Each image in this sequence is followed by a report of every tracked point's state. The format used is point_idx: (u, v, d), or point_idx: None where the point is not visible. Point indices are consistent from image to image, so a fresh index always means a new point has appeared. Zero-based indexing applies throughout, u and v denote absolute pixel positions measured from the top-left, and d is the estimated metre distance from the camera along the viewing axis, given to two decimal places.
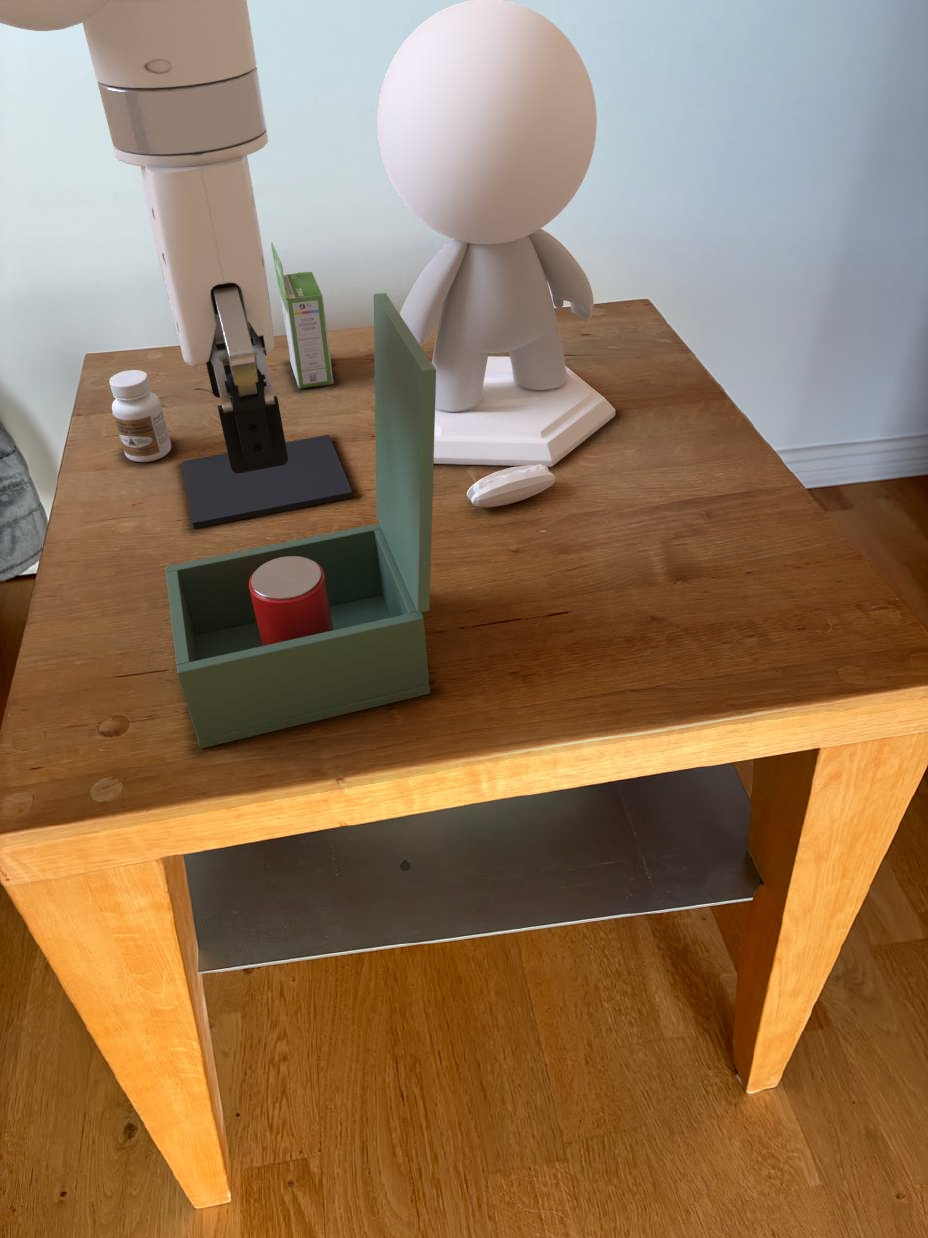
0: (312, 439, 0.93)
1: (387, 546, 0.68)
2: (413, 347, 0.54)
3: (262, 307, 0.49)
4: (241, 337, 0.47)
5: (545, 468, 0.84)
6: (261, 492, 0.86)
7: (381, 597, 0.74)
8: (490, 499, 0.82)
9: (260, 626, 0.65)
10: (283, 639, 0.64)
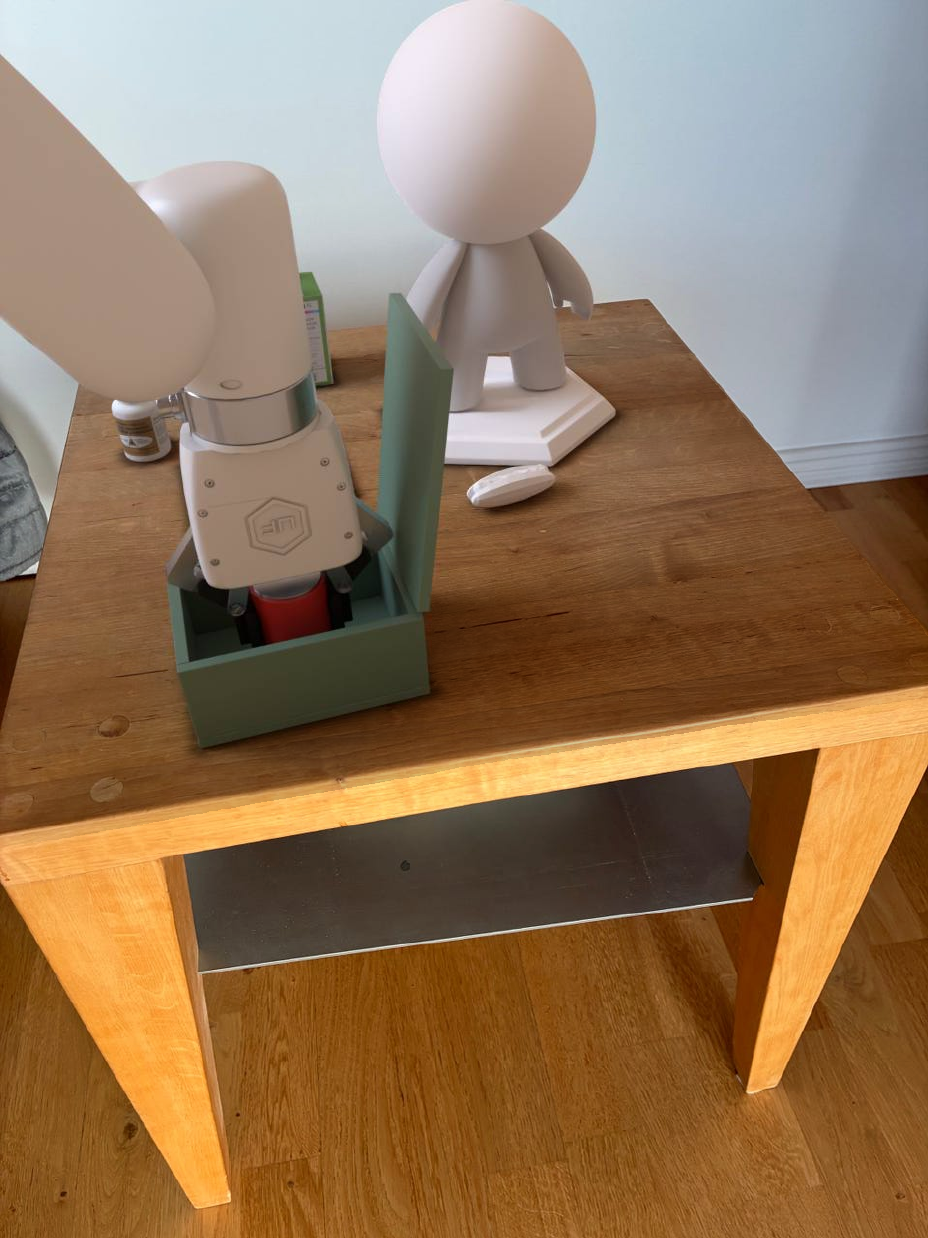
0: None
1: (387, 546, 0.68)
2: (430, 346, 0.54)
3: None
4: (380, 518, 0.64)
5: (545, 468, 0.84)
6: None
7: (381, 597, 0.74)
8: (490, 499, 0.82)
9: (260, 626, 0.65)
10: (283, 639, 0.64)
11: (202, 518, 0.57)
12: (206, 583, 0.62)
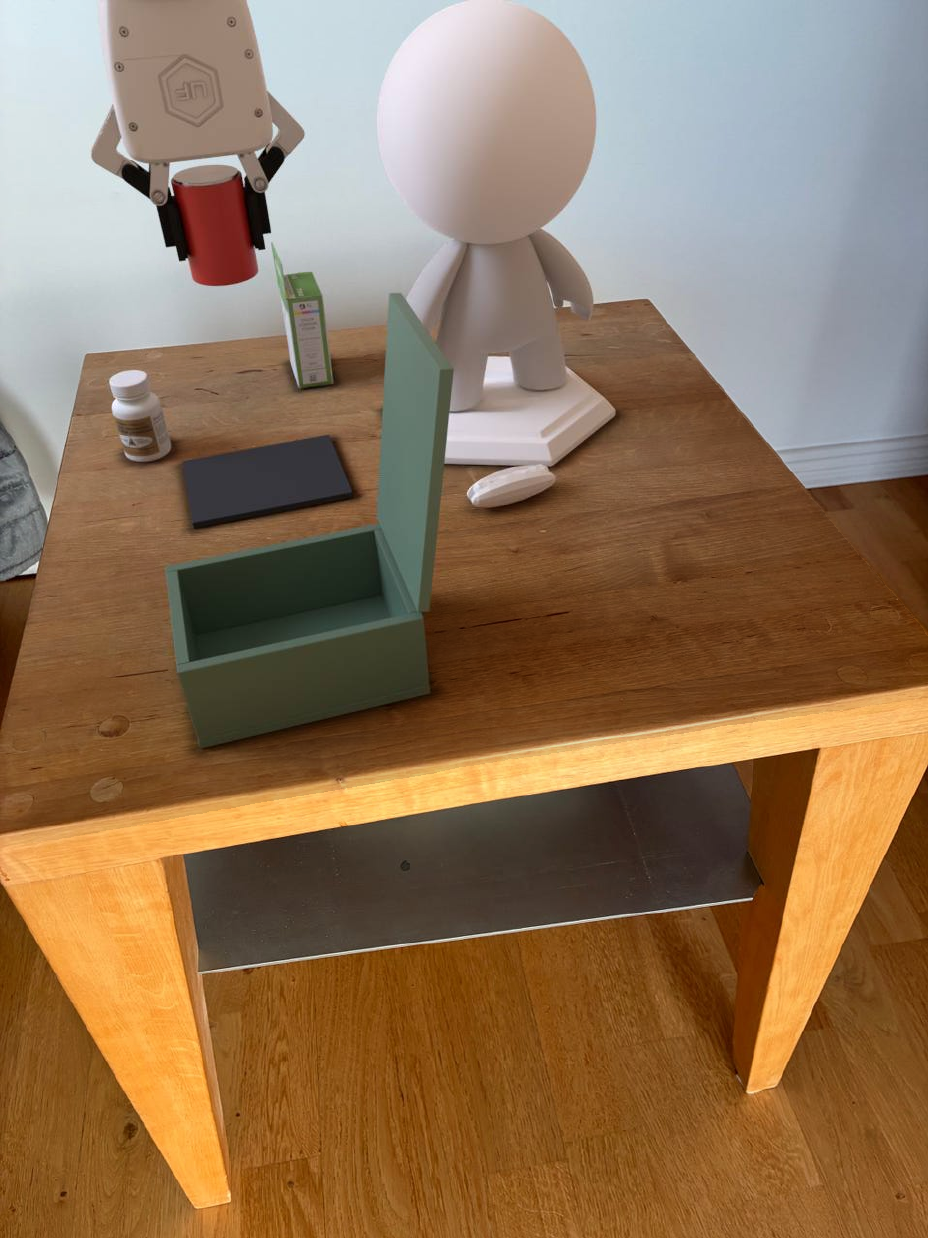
0: (312, 439, 0.93)
1: (387, 546, 0.68)
2: (430, 346, 0.54)
3: None
4: (292, 117, 0.69)
5: (545, 468, 0.84)
6: (261, 492, 0.86)
7: (381, 597, 0.74)
8: (490, 499, 0.82)
9: (182, 224, 0.70)
10: (203, 233, 0.70)
11: (119, 73, 0.62)
12: (129, 165, 0.67)
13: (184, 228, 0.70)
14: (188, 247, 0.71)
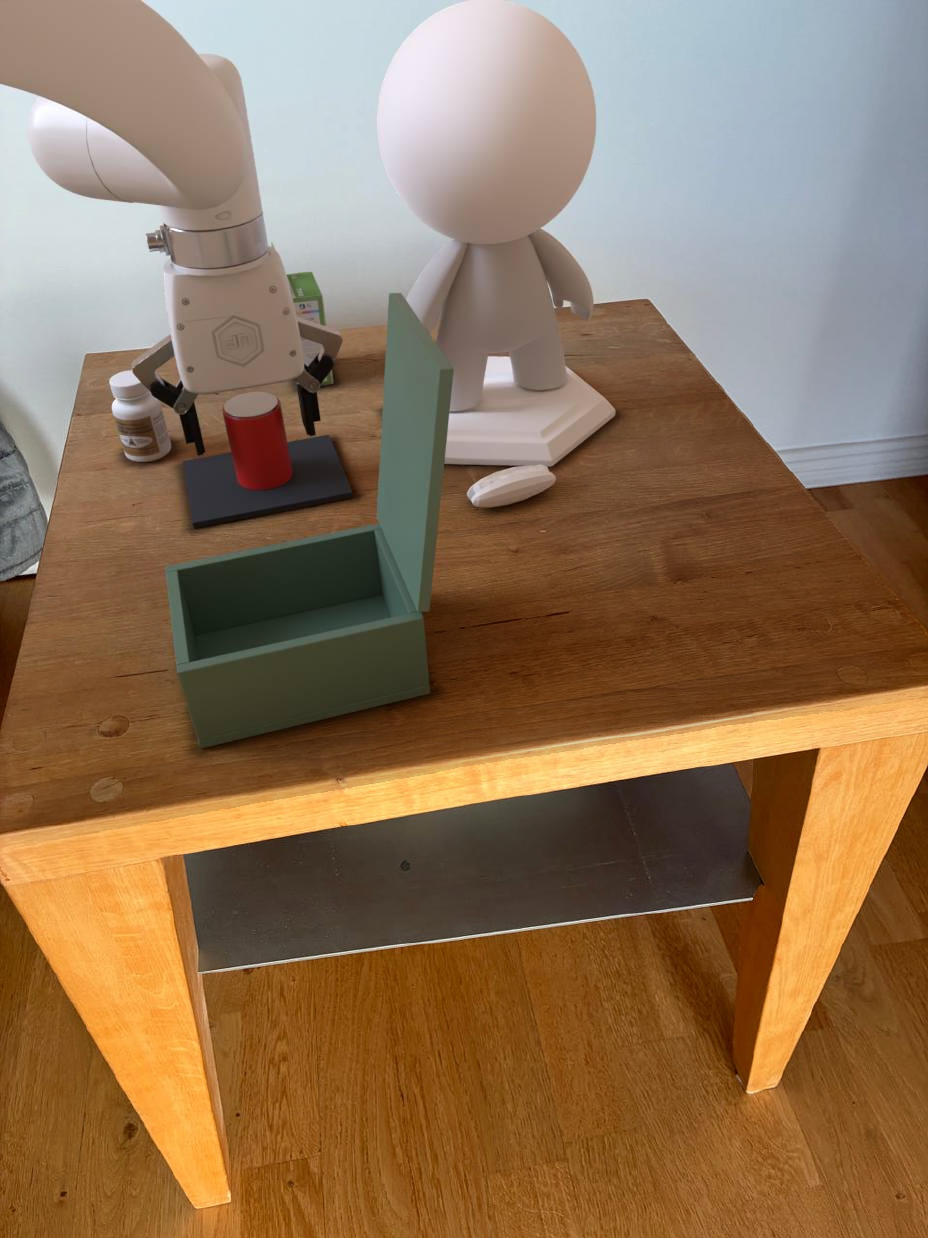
0: (312, 439, 0.93)
1: (387, 546, 0.68)
2: (430, 346, 0.54)
3: None
4: (328, 328, 0.82)
5: (545, 468, 0.84)
6: (261, 492, 0.86)
7: (381, 597, 0.74)
8: (490, 499, 0.82)
9: (231, 443, 0.85)
10: (248, 452, 0.84)
11: (180, 331, 0.76)
12: (157, 384, 0.79)
13: (232, 447, 0.85)
14: (235, 460, 0.86)
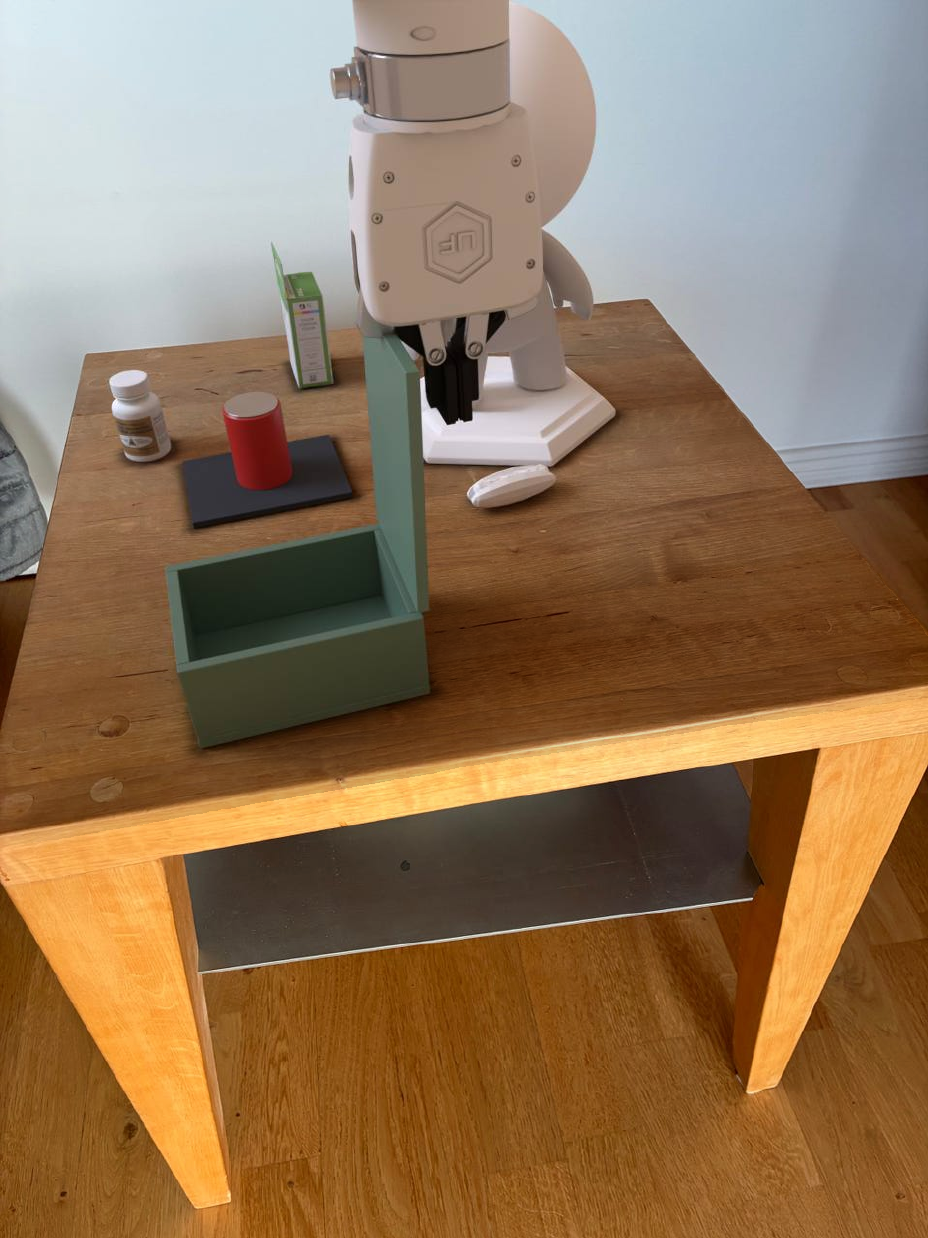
0: (312, 439, 0.93)
1: (387, 546, 0.68)
2: (397, 349, 0.54)
3: None
4: None
5: (545, 468, 0.84)
6: (261, 492, 0.86)
7: (381, 597, 0.74)
8: (490, 499, 0.82)
9: (231, 443, 0.85)
10: (248, 452, 0.84)
11: (376, 225, 0.50)
12: None
13: (232, 447, 0.85)
14: (235, 460, 0.86)
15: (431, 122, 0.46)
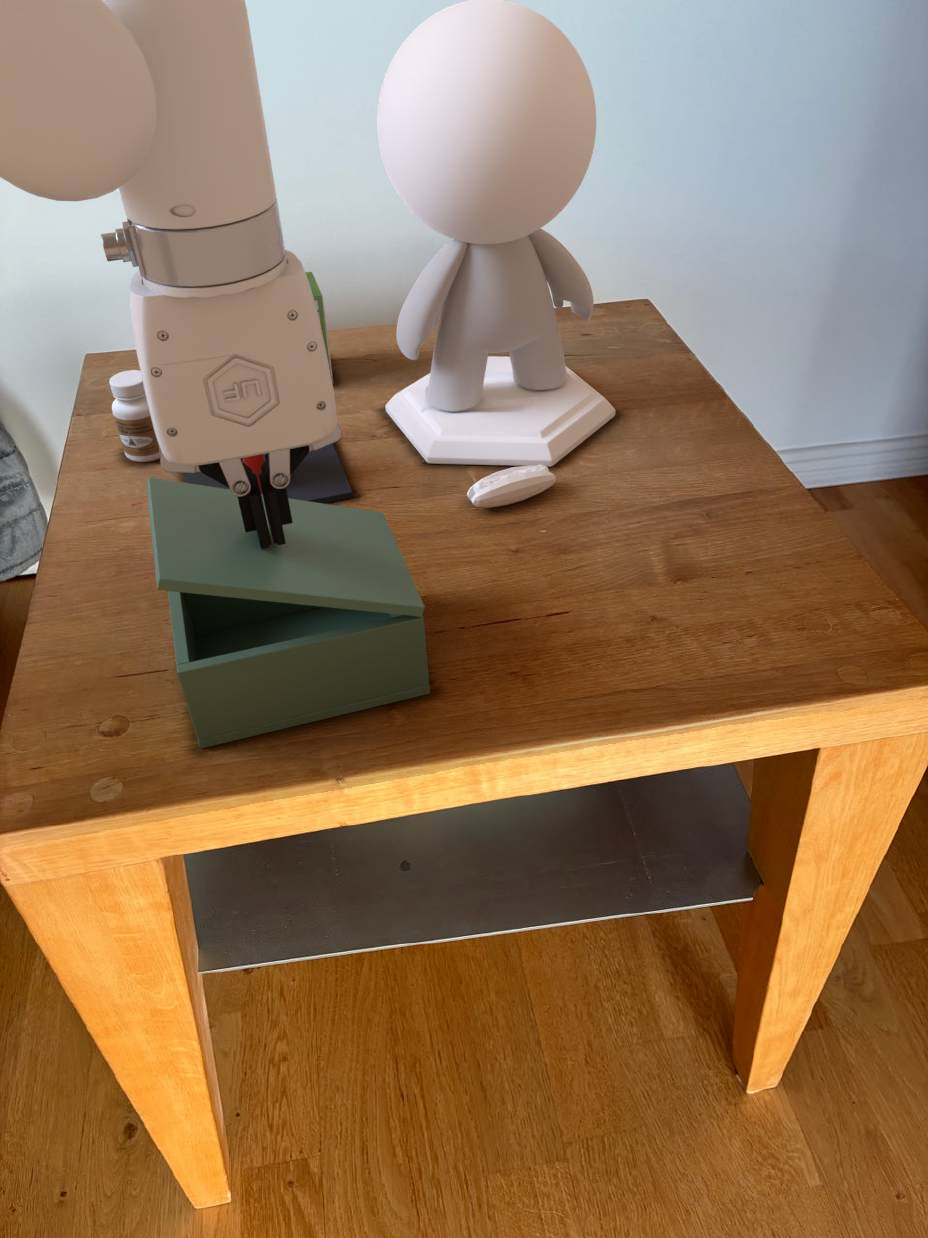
0: None
1: None
2: (154, 555, 0.57)
3: None
4: None
5: (545, 468, 0.84)
6: (261, 492, 0.86)
7: None
8: (490, 499, 0.82)
9: None
10: None
11: (156, 378, 0.51)
12: None
13: None
14: None
15: (195, 288, 0.48)
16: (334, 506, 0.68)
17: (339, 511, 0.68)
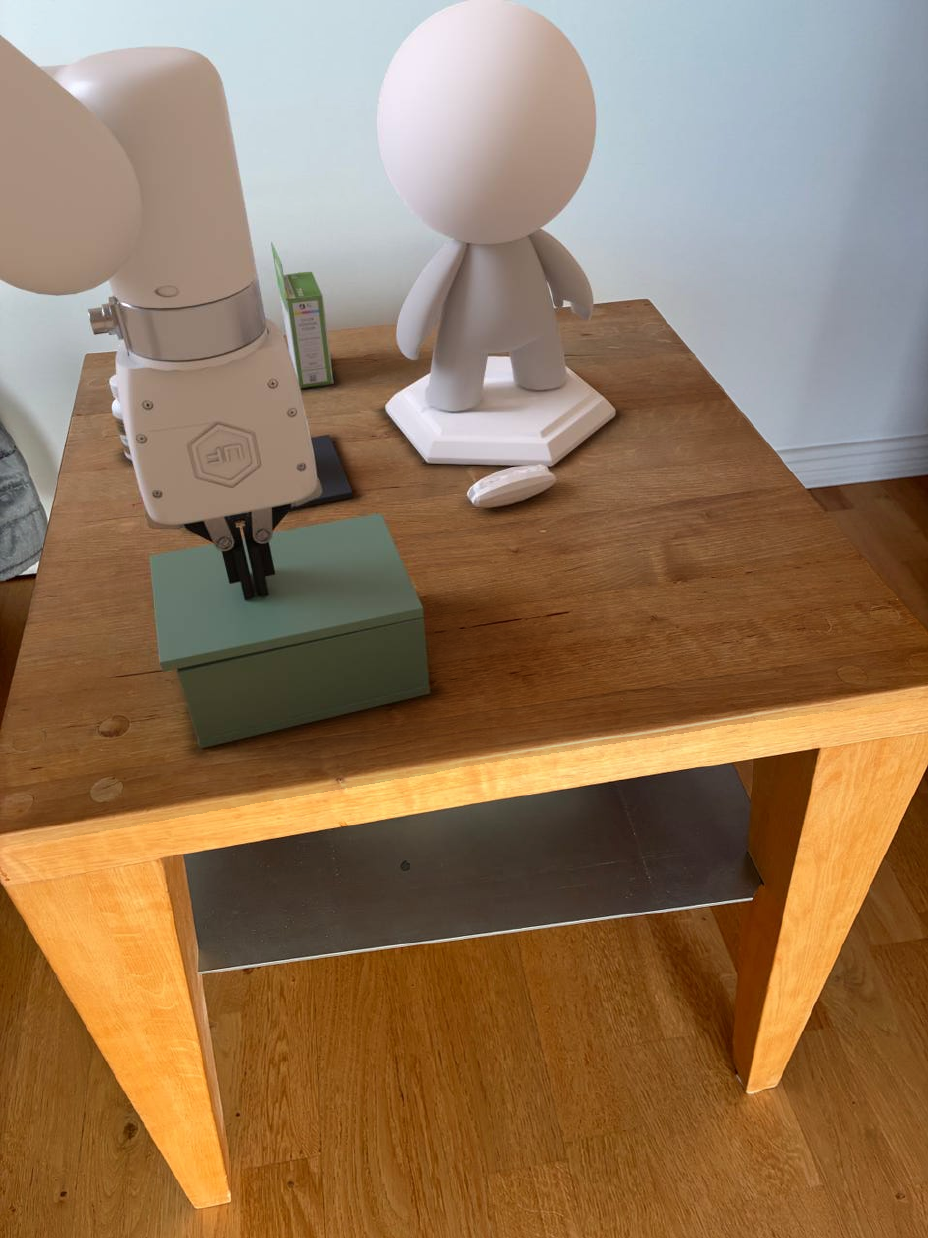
0: (312, 439, 0.93)
1: None
2: None
3: None
4: None
5: (545, 468, 0.84)
6: None
7: None
8: (490, 499, 0.82)
9: None
10: None
11: (142, 444, 0.53)
12: None
13: None
14: None
15: (178, 362, 0.50)
16: (330, 523, 0.69)
17: (336, 527, 0.69)
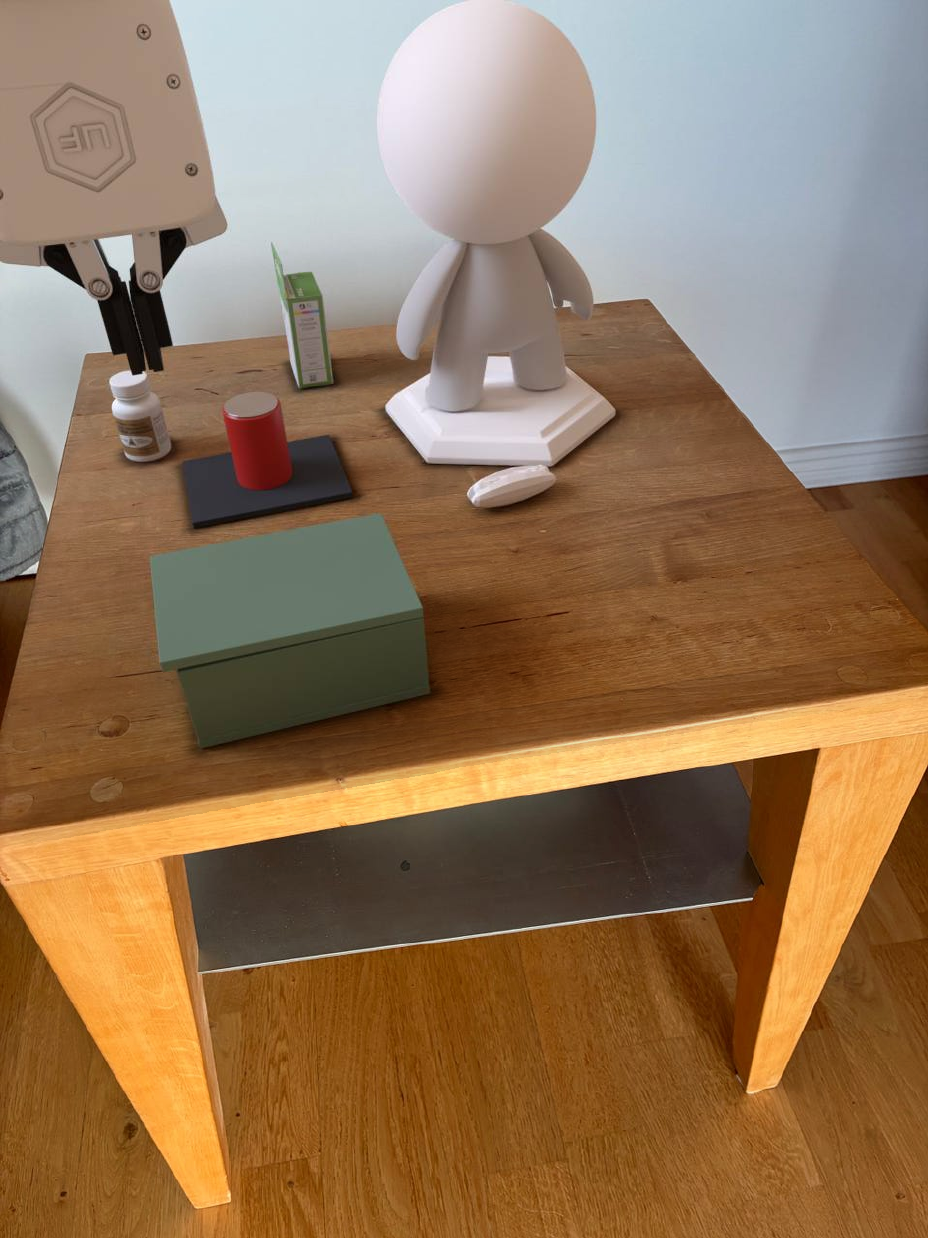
0: (312, 439, 0.93)
1: None
2: None
3: None
4: None
5: (545, 468, 0.84)
6: (261, 492, 0.86)
7: None
8: (490, 499, 0.82)
9: (231, 443, 0.85)
10: (248, 452, 0.84)
11: None
12: None
13: (232, 447, 0.85)
14: (235, 460, 0.86)
15: None
16: (330, 523, 0.69)
17: (336, 527, 0.69)
